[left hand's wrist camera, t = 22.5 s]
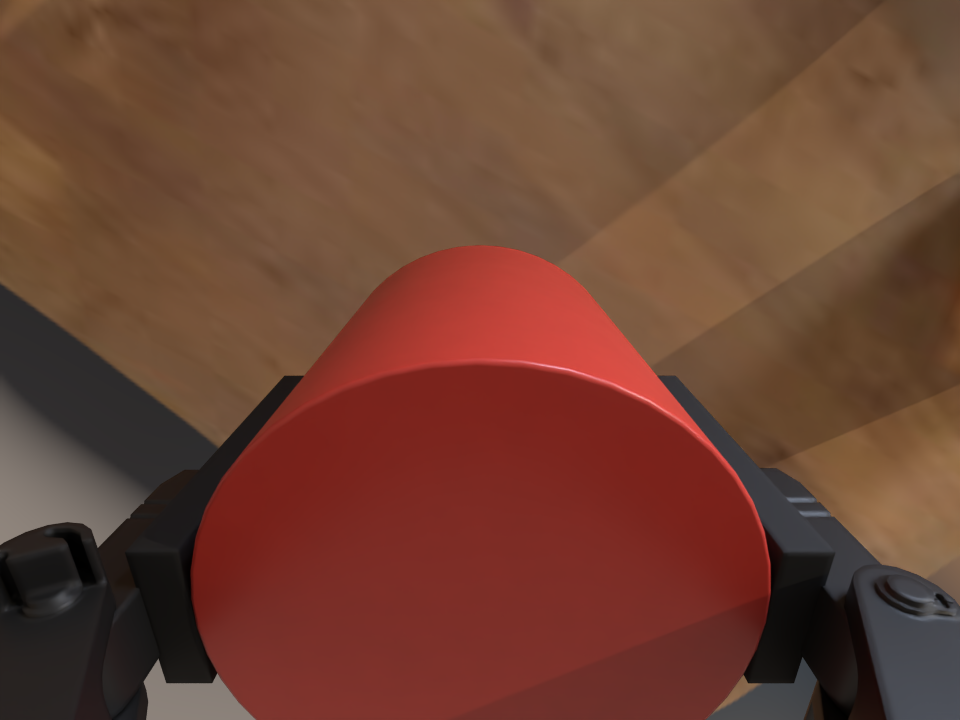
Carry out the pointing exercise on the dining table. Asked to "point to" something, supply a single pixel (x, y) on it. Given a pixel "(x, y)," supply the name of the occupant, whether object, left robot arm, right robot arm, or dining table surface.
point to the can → (480, 520)
